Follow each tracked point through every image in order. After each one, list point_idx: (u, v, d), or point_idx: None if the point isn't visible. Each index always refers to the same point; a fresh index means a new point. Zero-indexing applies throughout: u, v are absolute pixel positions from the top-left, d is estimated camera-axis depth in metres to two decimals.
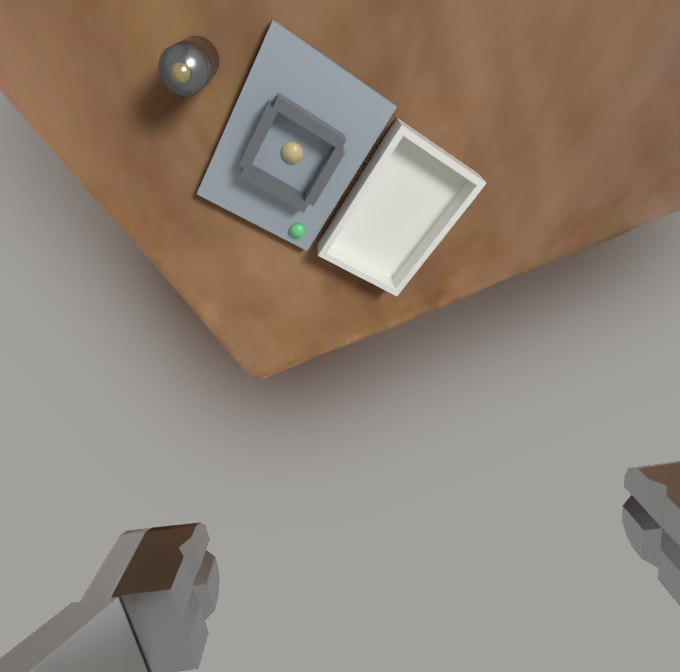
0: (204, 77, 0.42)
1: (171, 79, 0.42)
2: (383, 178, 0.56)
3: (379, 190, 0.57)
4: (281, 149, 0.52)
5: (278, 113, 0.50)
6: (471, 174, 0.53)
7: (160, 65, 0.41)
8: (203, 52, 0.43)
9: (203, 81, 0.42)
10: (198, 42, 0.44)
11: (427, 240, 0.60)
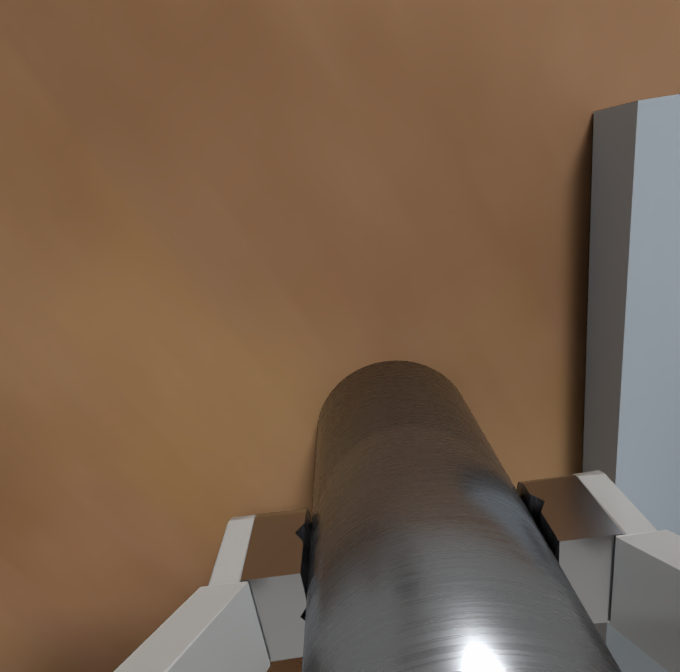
0: None
1: None
2: None
3: None
4: None
5: None
6: None
7: None
8: (493, 537, 0.06)
9: None
10: (400, 449, 0.08)
11: None
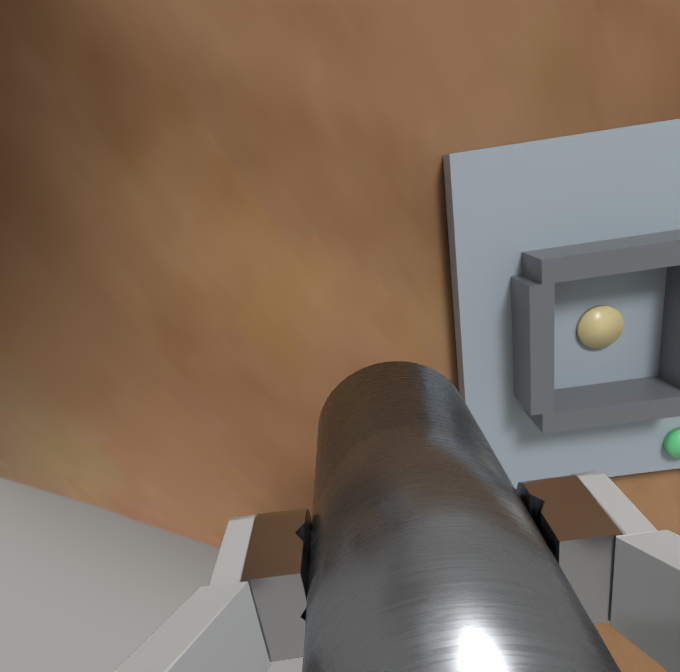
0: None
1: None
2: None
3: None
4: (576, 335, 0.26)
5: None
6: None
7: None
8: (493, 538, 0.06)
9: None
10: (401, 450, 0.08)
11: None
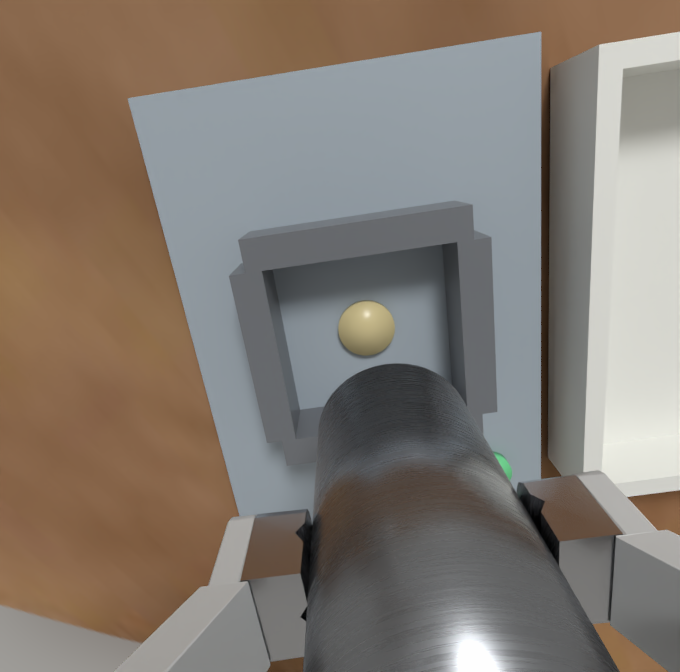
0: None
1: None
2: (614, 224, 0.20)
3: (622, 257, 0.20)
4: (339, 338, 0.20)
5: (280, 273, 0.19)
6: None
7: None
8: (494, 542, 0.06)
9: None
10: (401, 453, 0.08)
11: None
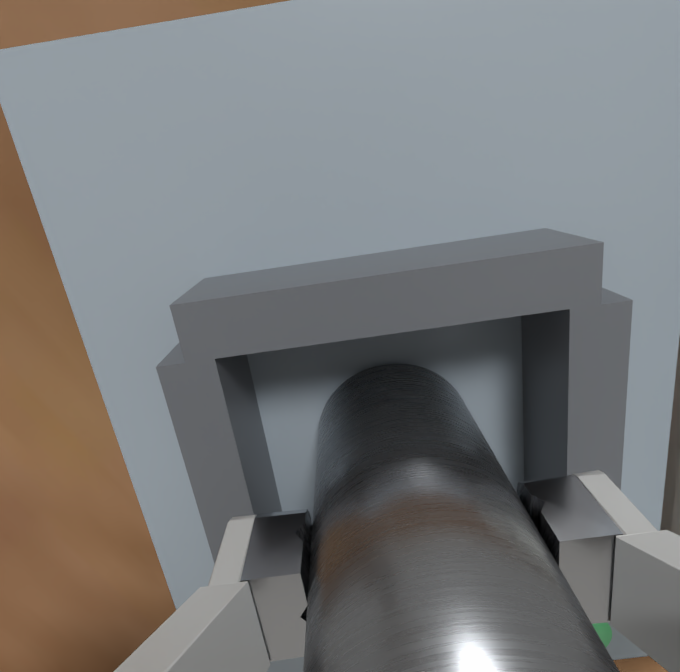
0: None
1: None
2: None
3: None
4: None
5: None
6: None
7: None
8: (494, 541, 0.06)
9: None
10: (401, 453, 0.08)
11: None
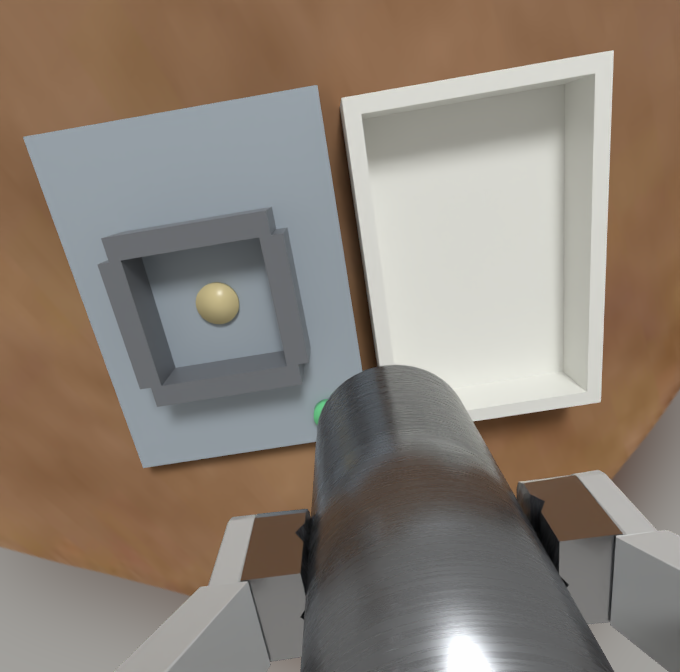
0: None
1: None
2: (401, 221, 0.26)
3: (411, 246, 0.26)
4: (198, 311, 0.26)
5: (148, 263, 0.26)
6: (563, 62, 0.21)
7: None
8: (490, 544, 0.06)
9: None
10: (399, 455, 0.08)
11: (576, 259, 0.26)
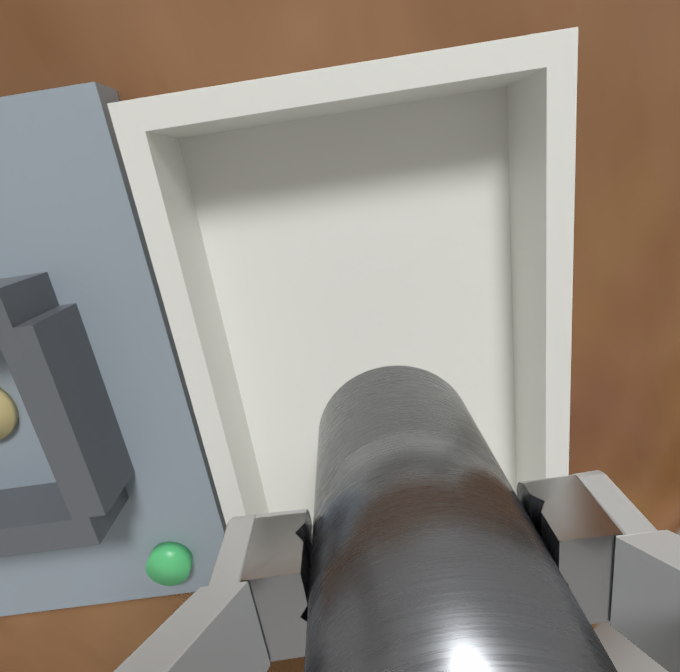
0: None
1: None
2: (262, 293, 0.17)
3: (281, 329, 0.17)
4: None
5: None
6: (490, 47, 0.12)
7: None
8: (494, 545, 0.06)
9: None
10: (401, 456, 0.08)
11: (527, 357, 0.16)
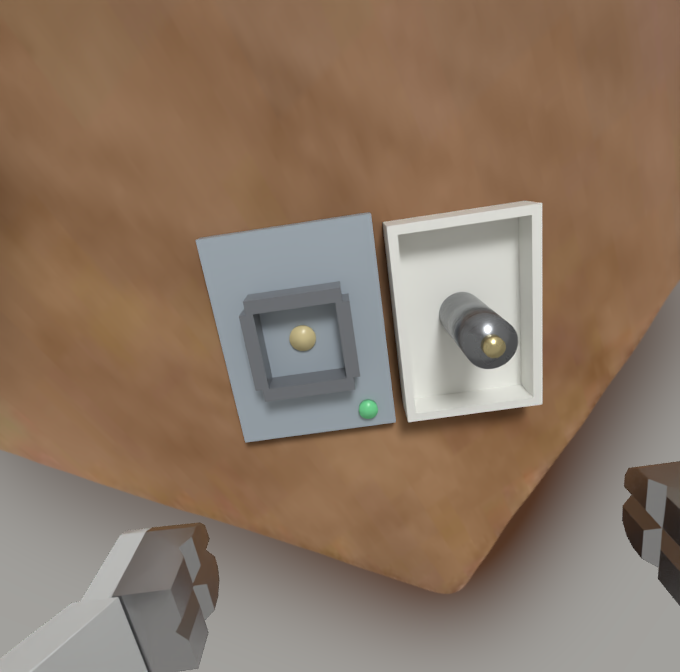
0: (515, 333, 0.34)
1: (484, 359, 0.35)
2: (418, 289, 0.42)
3: (424, 304, 0.42)
4: (290, 343, 0.42)
5: (262, 313, 0.41)
6: (513, 209, 0.37)
7: (468, 354, 0.35)
8: (489, 309, 0.36)
9: (516, 337, 0.34)
10: (470, 303, 0.38)
11: (526, 315, 0.41)
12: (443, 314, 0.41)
